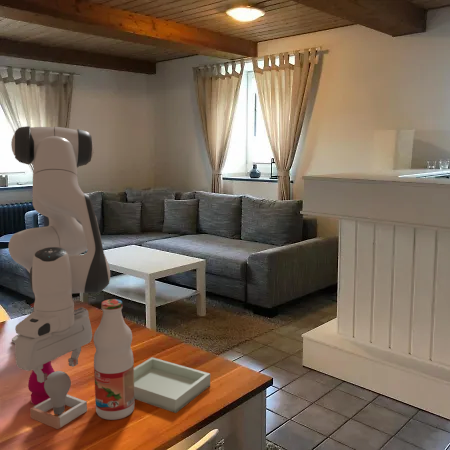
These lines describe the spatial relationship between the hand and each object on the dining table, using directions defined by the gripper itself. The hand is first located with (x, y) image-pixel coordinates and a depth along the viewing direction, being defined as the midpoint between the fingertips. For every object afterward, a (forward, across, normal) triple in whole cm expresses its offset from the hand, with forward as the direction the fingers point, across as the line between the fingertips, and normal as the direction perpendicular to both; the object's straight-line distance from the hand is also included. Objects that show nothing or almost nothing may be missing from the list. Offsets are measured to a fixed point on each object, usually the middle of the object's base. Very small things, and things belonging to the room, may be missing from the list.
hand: (58, 372), depth 118 cm
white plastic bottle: (+11, -8, +10) cm, 17 cm away
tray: (+11, -23, +13) cm, 29 cm away
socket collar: (+11, 0, -1) cm, 11 cm away
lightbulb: (+11, 0, -1) cm, 11 cm away
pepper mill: (+11, -3, -10) cm, 15 cm away
